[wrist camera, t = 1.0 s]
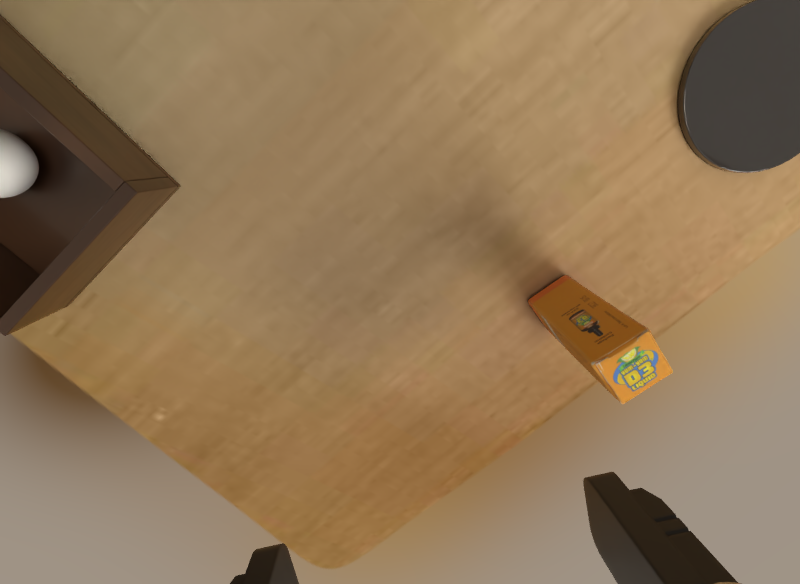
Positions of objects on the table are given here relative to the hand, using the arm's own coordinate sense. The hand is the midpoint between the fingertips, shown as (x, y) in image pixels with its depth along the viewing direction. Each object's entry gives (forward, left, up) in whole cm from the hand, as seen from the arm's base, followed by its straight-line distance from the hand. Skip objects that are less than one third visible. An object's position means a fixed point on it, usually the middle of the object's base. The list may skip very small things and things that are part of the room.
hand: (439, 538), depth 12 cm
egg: (-18, -17, -20) cm, 32 cm away
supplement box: (+5, +10, -21) cm, 23 cm away
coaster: (-3, +26, -20) cm, 33 cm away
